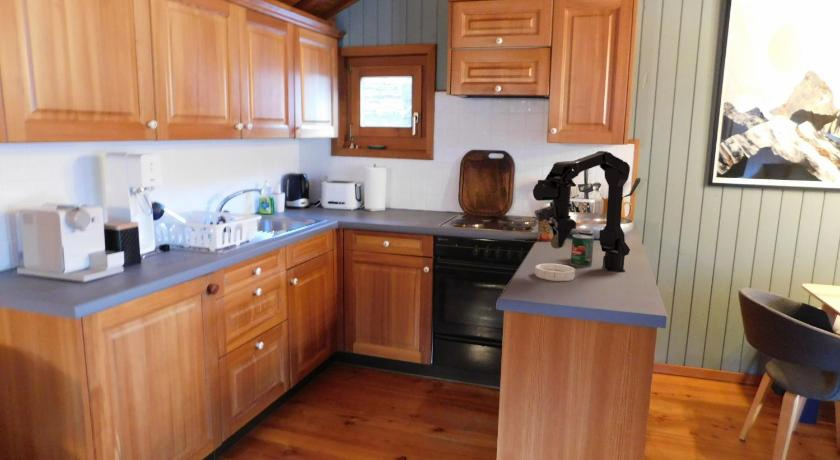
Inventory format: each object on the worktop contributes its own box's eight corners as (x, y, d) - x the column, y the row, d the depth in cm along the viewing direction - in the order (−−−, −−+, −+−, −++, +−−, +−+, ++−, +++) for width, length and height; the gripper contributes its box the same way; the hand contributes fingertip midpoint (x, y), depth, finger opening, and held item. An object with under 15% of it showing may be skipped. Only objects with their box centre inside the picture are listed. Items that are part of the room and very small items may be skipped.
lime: (564, 250, 194) (565, 235, 194) (550, 248, 196) (551, 234, 195) (564, 247, 199) (566, 233, 198) (550, 246, 200) (551, 232, 199)
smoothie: (535, 241, 265) (538, 197, 262) (536, 238, 273) (539, 196, 270) (554, 242, 263) (557, 198, 260) (554, 239, 271) (557, 197, 268)
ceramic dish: (568, 272, 205) (568, 264, 205) (578, 281, 193) (579, 272, 192) (532, 271, 205) (532, 263, 205) (540, 280, 192) (540, 271, 192)
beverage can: (579, 257, 233) (582, 227, 231) (593, 259, 229) (595, 229, 227) (573, 259, 229) (576, 229, 227) (587, 261, 225) (590, 231, 223)
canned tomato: (594, 264, 220) (596, 236, 219) (588, 268, 214) (591, 238, 212) (573, 261, 224) (575, 233, 222) (567, 265, 218) (569, 236, 216)
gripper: (531, 196, 203) (528, 239, 206) (544, 202, 185) (540, 250, 187) (562, 197, 204) (559, 240, 206) (578, 203, 185) (574, 251, 188)
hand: (557, 245), depth 197 cm, fingers closed on lime, 5 cm apart
